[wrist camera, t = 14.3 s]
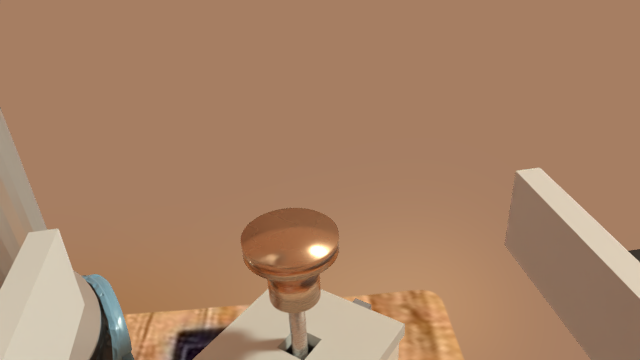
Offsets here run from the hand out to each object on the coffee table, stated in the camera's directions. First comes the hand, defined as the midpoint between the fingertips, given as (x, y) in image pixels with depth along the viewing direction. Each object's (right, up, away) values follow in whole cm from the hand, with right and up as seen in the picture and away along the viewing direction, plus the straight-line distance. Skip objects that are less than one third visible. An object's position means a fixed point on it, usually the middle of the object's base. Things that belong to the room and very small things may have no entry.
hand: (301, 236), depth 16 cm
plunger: (0, -22, +32) cm, 38 cm away
